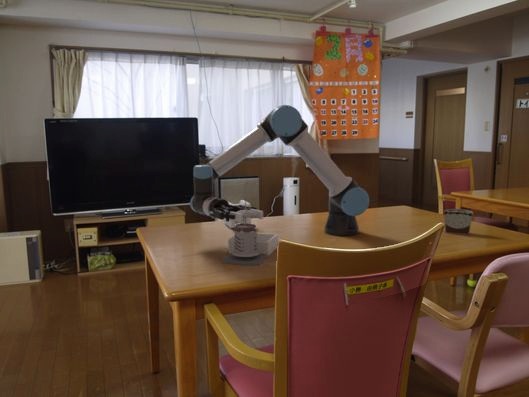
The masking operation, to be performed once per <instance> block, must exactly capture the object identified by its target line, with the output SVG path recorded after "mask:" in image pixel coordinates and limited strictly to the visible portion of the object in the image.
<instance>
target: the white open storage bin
mask: <svg viewBox="0 0 529 397" xmlns="http://www.w3.org/2000/svg"><path fill="white" fill-rule="evenodd" d="M234 239H235V237H234V236H232V237H230V238H229V239H228V241H227V242H228V243H227V245H228V246H227V247H228V254H230V253H231V252H233V251H234V246H235V245H234V242H235V241H234ZM241 241H243V239H241ZM256 242H257V251H258V252H259V253H261V254H267V257H269V256H270V255H271V254H272V253H273V252H274V251H276V250H277V249H278V248H277V244H278V245H279V233H278V234H276V233H263V232H257V241H256ZM254 243H255V242H254ZM241 244H243V243H241ZM242 247H243V246H241V248H242Z"/></svg>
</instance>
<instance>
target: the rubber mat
mask: <svg viewBox="0 0 529 397" xmlns="http://www.w3.org/2000/svg"><path fill="white" fill-rule="evenodd" d="M267 257H268V256H267V254H261V253H259V255H256V256H252V257H239V256H234V255H232V252H231V253H228V254H227V255H226V256H225V257H223V258H221V259H220V260H221V261H220V262H221V264H223V263H224V264H233V265H234V264H235V265H245V266H246V265H247V266H256V267H257V266H259V265H260V264H261V263H262V262H263V261H265V259H266V258H267Z"/></svg>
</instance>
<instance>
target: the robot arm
mask: <svg viewBox="0 0 529 397" xmlns="http://www.w3.org/2000/svg"><path fill="white" fill-rule="evenodd" d="M302 117H303V116H302V115H301V112H300V111H299V110H298V109H297V108H296V107H294V106H292V105H289V104H288V105H287V104H282V105H280V106H277V107H275V108H274V109H272V110H271V111H270V112H269V113H268V114H267V115H266V116H265V117H264V118H263V119H262V120H260V121H259V122H258V123H257V125H256V128H254V129H252V131H250V132H248V133H247V134H246V135H244V136H243V137H242V138H240V139H239V140H238V141H236V142H235V143H233V144H232V145H231V146H229V147H228V148H227V149H225V150H223V152H221V153H219V154H218V155H217V156H216V157H214V158H213V159H212V160H210V161H209V162H207V163H206V164H198V165H194V167H193V174H192V176H193V196H192V197H191V198H190V200H189V207H190V208H191V210H192V211H194V212H195V213H197V214H200V215H204V216H208V217H211V218H212V219H217V220H221V221H224V218H225V219H226V221H229V219H230V220H234V221H237V222H243V214H240V213H236V212H237V211H240V210H244V209H245V206H242V205H238V206H234V205H230V204H229V203H228V202H229V201H227V199H225V198H220V197H215V196H214V182H215V181H216V180H217V179H219V178H220V177H222V176H223V175H224V174H225V173H227V172H228V171H230V170H231V169H232V168H234V167H236V165H238V164H239V163H240V162H242V161H243V160H244V159H246V158H248V157H249V156H250V155H252V154H253V153H255V151H257V150H258V149H260V148H261V147H263V146H264V145H266V144H267V143H273V142H274V141H276V140H277V139H279V140H280V141H281V142H282V143H283V144H284V145H285V147H291V148H292V149H293V150H294V151H295V153H296V154H298V156H299V157H300V158H301V159H302V160H303V161H304V162H305V164H306V165H307V166H308V168H310V169H311V171H312V172H313V173H314V174H315V175H316V177H317V178H318V179H319V180H320V181H321V182H322V183H323V185H324V186H325V187H326V188H327V189H328V216H327V218H326V221H325V224H324V227H323V228H324V233H326V234H329V235H333V236H334V235H335V236H354V235H357V234H359V233H360V226H359V224H358V223H359V222H358V220H357V216H360V215H362V214H363V213H365V212H366V211H367V210H368V208H369V205H370V196H369V193H368V192H367V191H366V189H364V188H362V187H360V186H359V185H358V183H357V182H356V181H355V179H353V178H352V177H351V176H346V175H345V174H344V173H343V171H342V170H341V169H340V168H339V167H338V166H337V164H336V163H335V162H334V161H333V160H332V158H331V157H330V156H329V155H328V154H327V152H326V151H325V150H324V149H323V148H322V147H321V146H320V144H319V143H318V142H317V141H316V140H315V138H314V137H313V136H312V135H311V134H310V133H309V125H308V124H307V123H306V122H305V120H304V119H303V118H302ZM246 209H247V210H251V211H254V212H255V213H257V214H258V215H257V216H256V217H253V218H254V219H259V220H264V210H259V209H258V208H257V207H254V206H251V207H248V206H246Z"/></svg>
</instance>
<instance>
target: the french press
mask: <svg viewBox="0 0 529 397" xmlns="http://www.w3.org/2000/svg"><path fill="white" fill-rule="evenodd" d="M242 186H245V187H244V188H245V189H244V190H245V196H244V198H245V200H244V201H245V209H244V210H240V211H237V212H236V213H240V214H243V218H245V224H242V222H241V223H237V225H236V224H235V227H234V228H235V229H234V230H233V232H234V234H233V237H235V239H234V241H235V242H234V245H235V246H234V251H233V252H232V255H234V256H239V257H252V256H256V255H259V252H258V251H257V242H256V241H257V233H258V230H257V229H256V227H257V225H255V224H253V223H251V224H246V218H250V217H251V218H254V217H256V216H257V215H258V214H257V213H255V212H254V211H251V210H247V209H246V202H247V186H249V181H243V183H242ZM243 220H244V219H243ZM241 239H243V241H241ZM254 242H255V243H254ZM241 243H243V244H241ZM241 246H243V247H242V248H241Z"/></svg>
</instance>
